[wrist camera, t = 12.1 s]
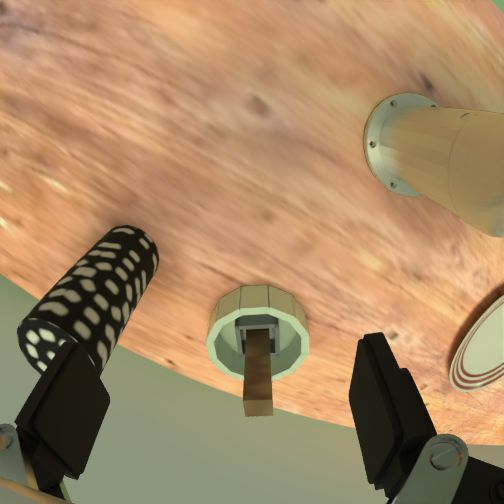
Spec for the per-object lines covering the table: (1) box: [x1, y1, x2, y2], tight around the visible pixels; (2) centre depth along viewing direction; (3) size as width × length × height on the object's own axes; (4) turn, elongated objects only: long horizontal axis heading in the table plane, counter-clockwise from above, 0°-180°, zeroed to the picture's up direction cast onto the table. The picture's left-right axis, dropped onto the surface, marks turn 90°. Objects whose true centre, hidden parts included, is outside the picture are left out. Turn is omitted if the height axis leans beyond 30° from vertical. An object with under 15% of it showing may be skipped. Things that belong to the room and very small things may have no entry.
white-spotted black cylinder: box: [17, 225, 159, 377], centre depth 30 cm, size 8×8×20 cm
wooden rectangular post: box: [243, 328, 273, 417], centre depth 37 cm, size 3×3×14 cm
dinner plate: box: [449, 295, 504, 392], centre depth 45 cm, size 27×27×3 cm
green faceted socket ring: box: [206, 285, 309, 381], centre depth 42 cm, size 13×13×5 cm
